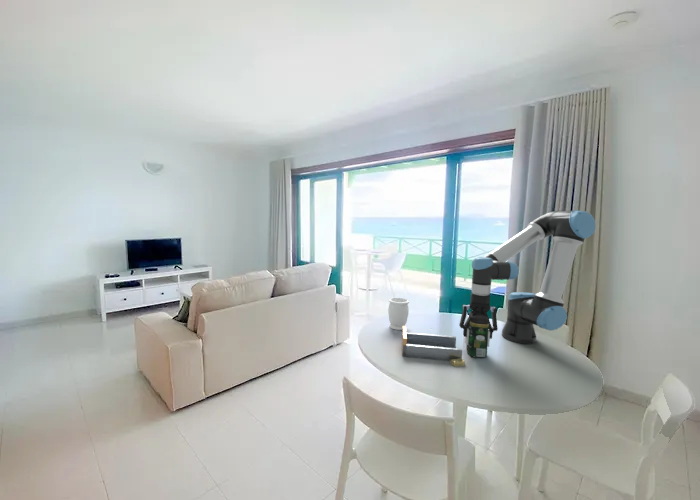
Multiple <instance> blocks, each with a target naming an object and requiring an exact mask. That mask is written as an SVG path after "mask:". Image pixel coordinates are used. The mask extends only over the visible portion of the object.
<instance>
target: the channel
mask: <svg viewBox="0 0 700 500" xmlns="http://www.w3.org/2000/svg"><path fill="white" fill-rule="evenodd" d="M401 331H402V335H401V349H402V350H401V352H402V353H401V356H402V357H406V358H415V359H426V360H436V361H437V360H438V361H448V362H449V361H450V362H451V360H452V359H459V358H461V359H463V349H462V348H457V346H456V345H457V336H455V335H454V336H453V335H444V334H443V335H442V334H431V333H430V334H429V333H419V332H418V333H416V332H407V326H406V325H405V326H403V330H401Z"/></svg>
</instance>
